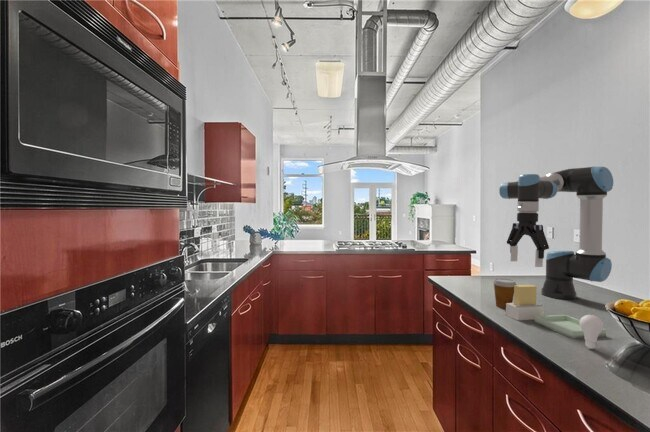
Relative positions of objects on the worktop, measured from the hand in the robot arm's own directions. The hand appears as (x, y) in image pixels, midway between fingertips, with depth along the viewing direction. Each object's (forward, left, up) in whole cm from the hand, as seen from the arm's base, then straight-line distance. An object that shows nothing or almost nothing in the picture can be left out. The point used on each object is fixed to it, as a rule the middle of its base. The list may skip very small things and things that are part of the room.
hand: (525, 263), depth 144 cm
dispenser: (0, 0, -22) cm, 22 cm away
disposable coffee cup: (-2, -15, -22) cm, 27 cm away
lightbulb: (+3, +32, -22) cm, 39 cm away
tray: (-6, +15, -22) cm, 27 cm away
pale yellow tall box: (0, 0, -22) cm, 22 cm away
